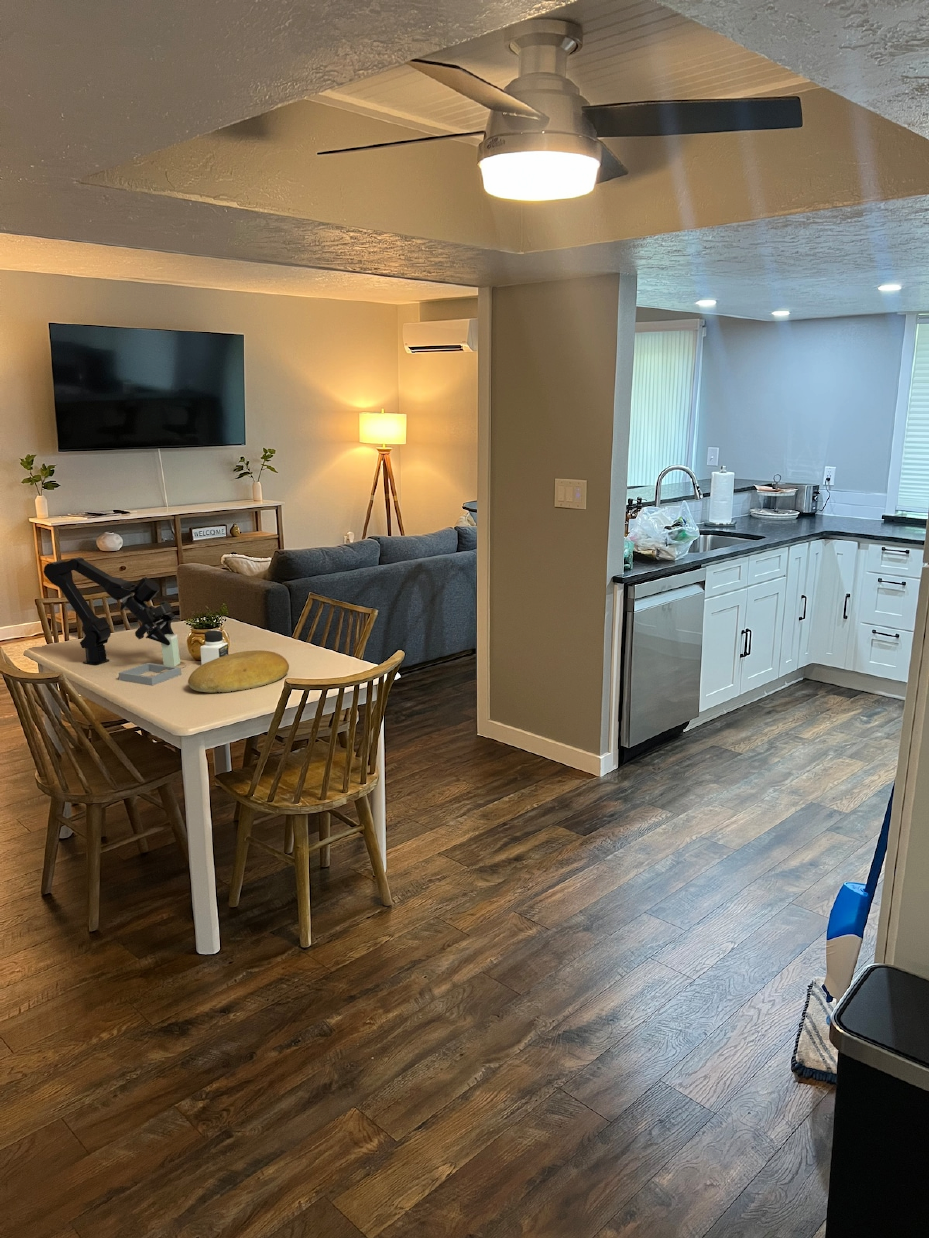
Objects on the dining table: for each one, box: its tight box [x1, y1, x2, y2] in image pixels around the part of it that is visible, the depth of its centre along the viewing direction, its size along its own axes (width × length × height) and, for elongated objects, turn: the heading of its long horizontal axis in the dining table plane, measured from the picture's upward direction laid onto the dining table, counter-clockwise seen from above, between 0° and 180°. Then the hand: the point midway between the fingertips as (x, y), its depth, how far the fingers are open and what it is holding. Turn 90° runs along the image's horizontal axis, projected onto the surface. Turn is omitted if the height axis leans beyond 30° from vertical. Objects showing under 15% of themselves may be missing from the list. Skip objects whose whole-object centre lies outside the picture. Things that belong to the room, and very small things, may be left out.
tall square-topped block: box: [160, 633, 181, 667], centre depth 318 cm, size 4×4×10 cm
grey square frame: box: [118, 662, 182, 686], centre depth 306 cm, size 14×13×2 cm
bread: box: [187, 649, 290, 694], centre depth 299 cm, size 18×35×10 cm, turn 138°
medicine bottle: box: [200, 629, 230, 665], centre depth 321 cm, size 7×7×12 cm
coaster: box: [159, 661, 187, 669], centre depth 319 cm, size 10×10×1 cm
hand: (172, 642), depth 317 cm, fingers closed on tall square-topped block, 4 cm apart
